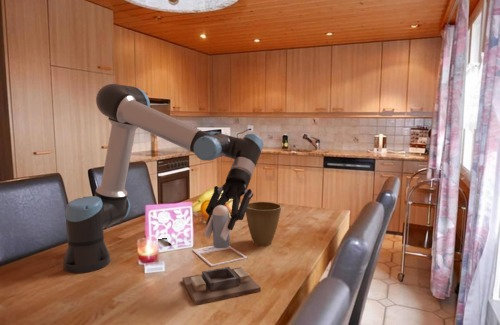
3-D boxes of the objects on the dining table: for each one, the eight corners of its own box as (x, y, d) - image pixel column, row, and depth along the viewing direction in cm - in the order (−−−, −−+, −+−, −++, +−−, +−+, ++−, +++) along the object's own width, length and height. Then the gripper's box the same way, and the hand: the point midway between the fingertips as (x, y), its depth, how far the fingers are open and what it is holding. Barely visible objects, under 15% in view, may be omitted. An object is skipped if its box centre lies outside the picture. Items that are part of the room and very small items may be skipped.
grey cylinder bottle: (216, 249, 106) (215, 208, 104) (211, 244, 110) (210, 204, 109) (232, 246, 108) (231, 206, 106) (226, 241, 112) (225, 202, 111)
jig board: (195, 304, 99) (195, 292, 99) (182, 281, 114) (182, 270, 113) (260, 291, 107) (260, 279, 107) (240, 270, 122) (240, 260, 121)
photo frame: (225, 242, 148) (247, 256, 132) (225, 245, 148) (247, 259, 132) (192, 249, 140) (211, 265, 125) (192, 251, 140) (211, 268, 125)
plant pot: (259, 251, 139) (259, 211, 137) (238, 241, 151) (238, 204, 149) (288, 244, 148) (288, 206, 146) (265, 234, 160) (265, 199, 158)
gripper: (268, 182, 116) (246, 247, 104) (221, 179, 124) (194, 238, 112) (261, 168, 111) (237, 235, 98) (212, 165, 119) (184, 226, 106)
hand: (214, 237), depth 105 cm, fingers closed on grey cylinder bottle, 5 cm apart
